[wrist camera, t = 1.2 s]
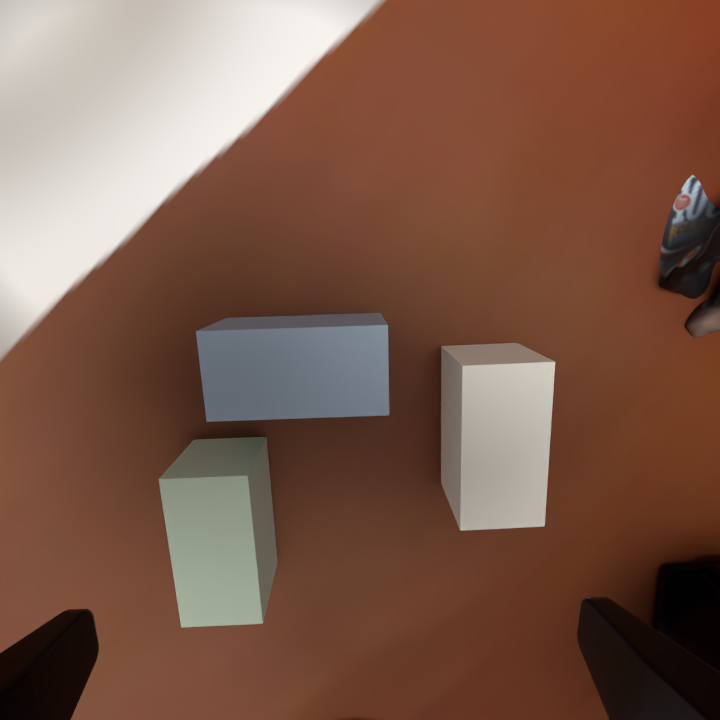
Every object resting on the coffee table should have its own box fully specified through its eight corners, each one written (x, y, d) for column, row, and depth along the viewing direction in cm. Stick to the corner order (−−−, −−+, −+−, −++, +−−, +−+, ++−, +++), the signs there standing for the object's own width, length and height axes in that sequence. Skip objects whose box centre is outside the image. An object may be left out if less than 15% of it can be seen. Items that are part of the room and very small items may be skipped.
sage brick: (278, 560, 22) (262, 623, 18) (210, 563, 22) (181, 627, 18) (267, 435, 21) (247, 475, 17) (194, 438, 21) (158, 479, 17)
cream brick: (509, 478, 22) (544, 526, 18) (440, 481, 21) (460, 530, 18) (515, 342, 20) (554, 361, 16) (440, 345, 20) (462, 365, 16)
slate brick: (380, 312, 19) (387, 325, 16) (382, 385, 20) (389, 415, 16) (227, 317, 19) (195, 331, 16) (234, 391, 20) (206, 421, 16)
